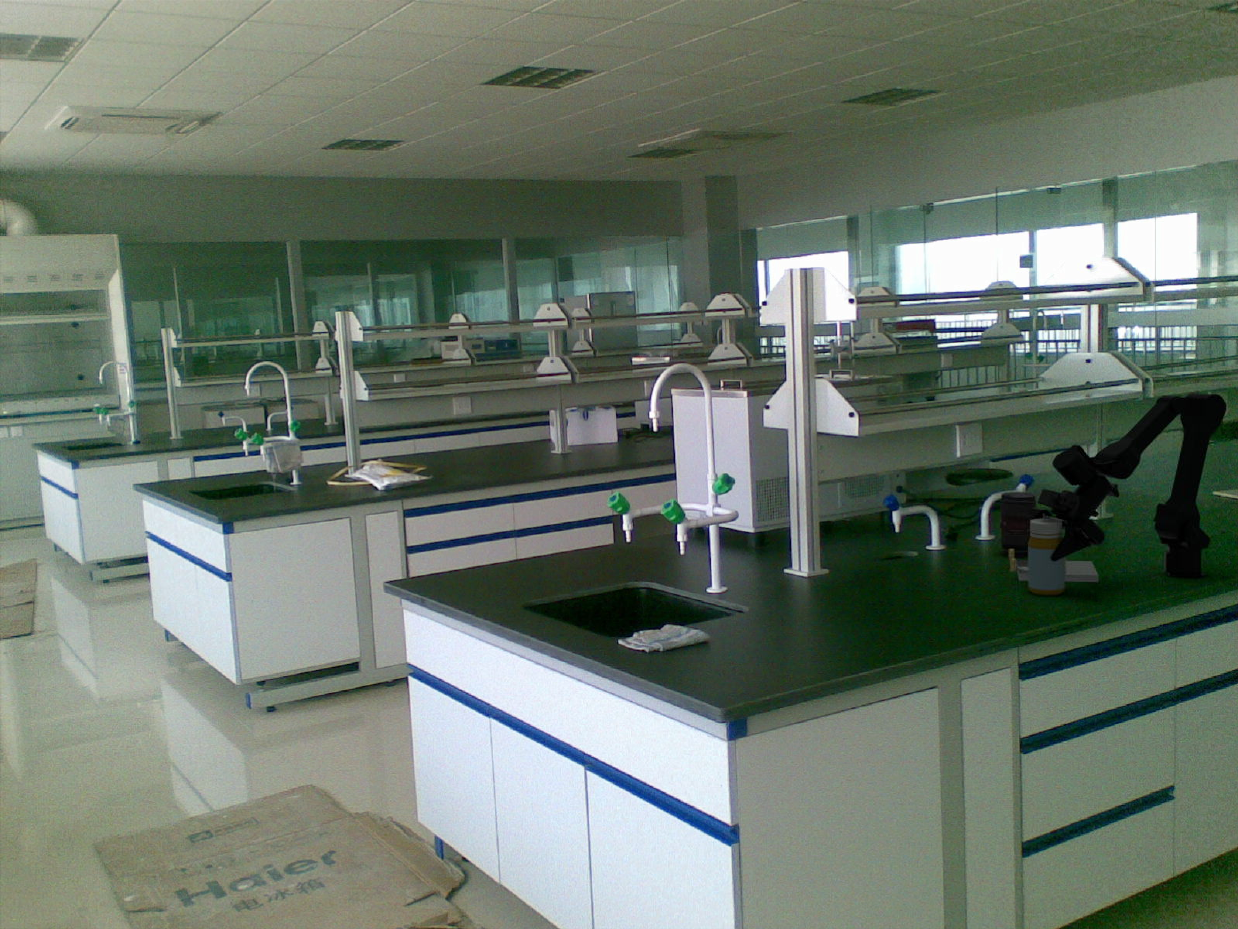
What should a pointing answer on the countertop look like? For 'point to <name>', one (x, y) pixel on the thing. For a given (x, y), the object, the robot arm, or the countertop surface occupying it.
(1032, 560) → the bottle
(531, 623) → the countertop surface
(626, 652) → the countertop surface
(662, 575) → the countertop surface
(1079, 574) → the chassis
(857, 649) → the countertop surface
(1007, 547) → the camera lens
